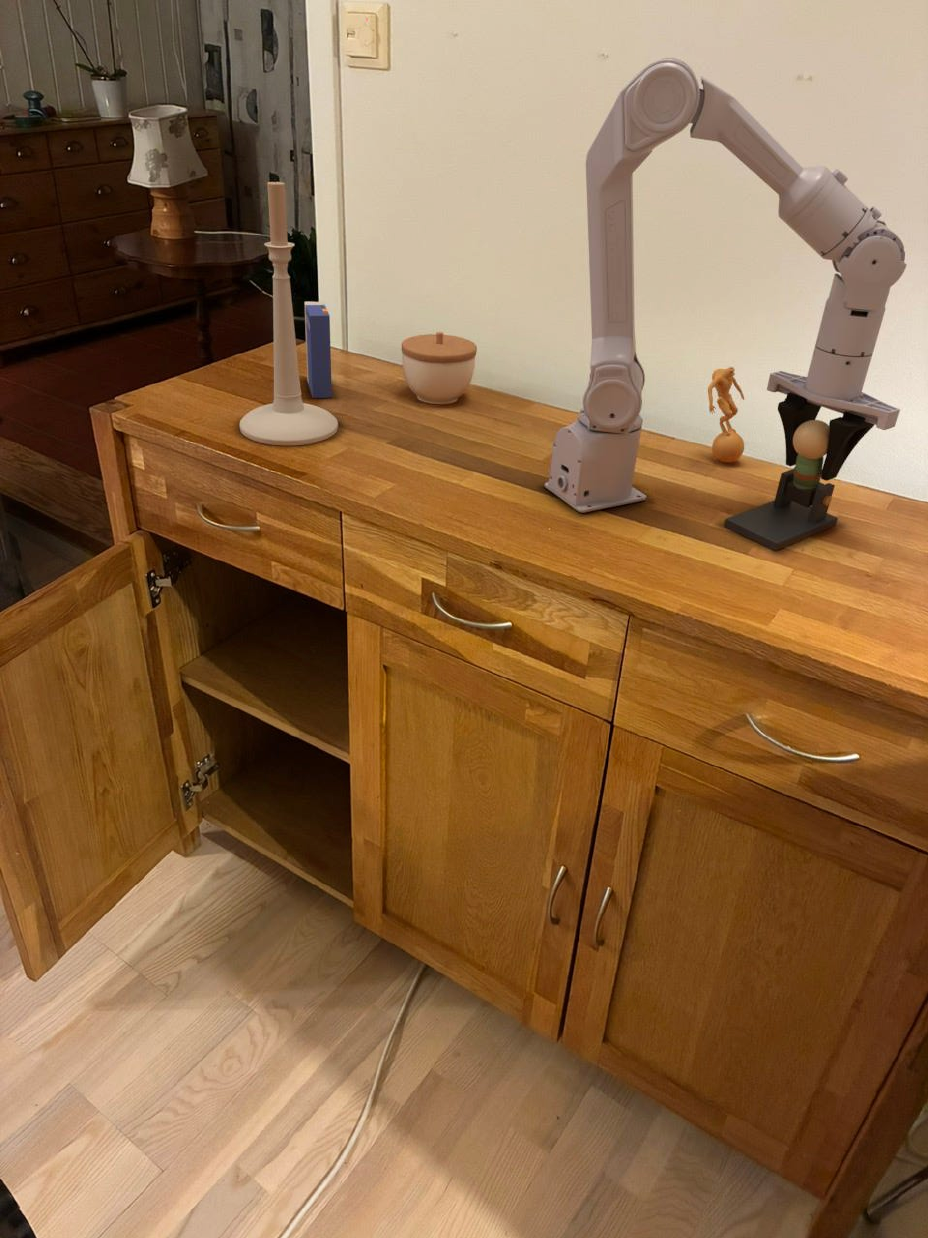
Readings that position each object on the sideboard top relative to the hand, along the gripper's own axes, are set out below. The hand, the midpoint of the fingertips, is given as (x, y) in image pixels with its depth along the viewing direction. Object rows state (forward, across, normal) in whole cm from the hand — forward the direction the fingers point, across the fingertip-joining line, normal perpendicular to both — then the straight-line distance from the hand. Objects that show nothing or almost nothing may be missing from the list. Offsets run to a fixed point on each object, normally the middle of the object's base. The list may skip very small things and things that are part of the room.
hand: (810, 470), depth 102 cm
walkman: (+6, +66, +24) cm, 70 cm away
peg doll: (+3, 0, 0) cm, 3 cm away
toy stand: (+6, 0, +3) cm, 7 cm away
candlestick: (+6, +55, +36) cm, 65 cm away
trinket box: (+6, +54, +11) cm, 56 cm away
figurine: (+6, +17, -6) cm, 19 cm away
